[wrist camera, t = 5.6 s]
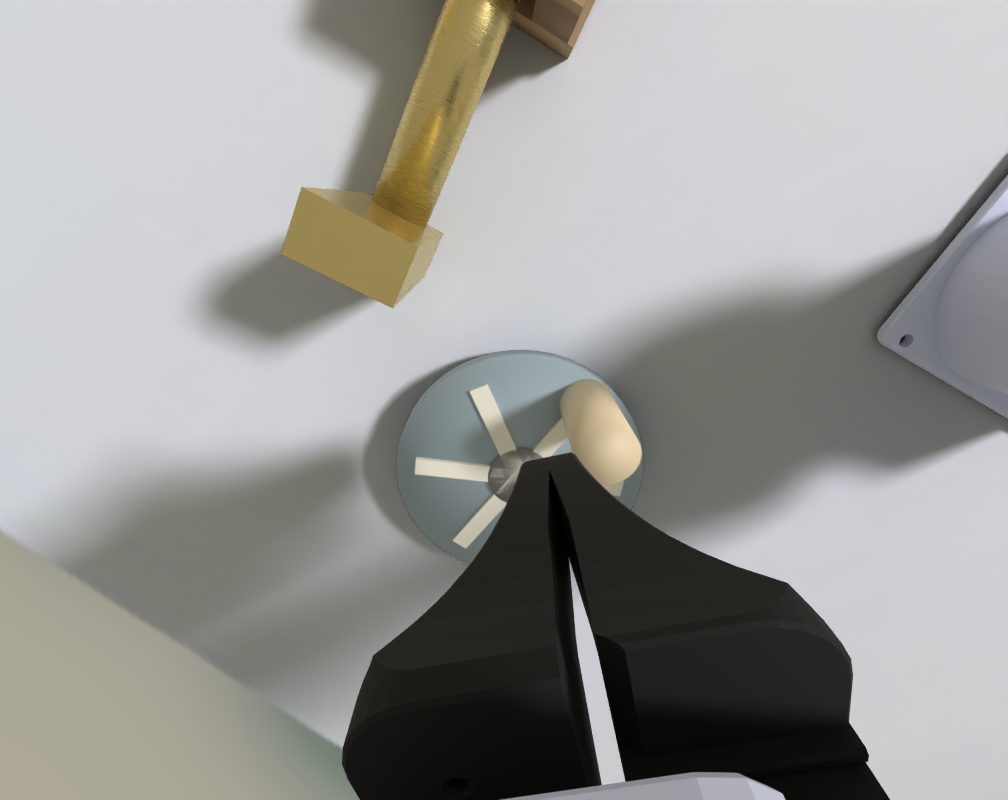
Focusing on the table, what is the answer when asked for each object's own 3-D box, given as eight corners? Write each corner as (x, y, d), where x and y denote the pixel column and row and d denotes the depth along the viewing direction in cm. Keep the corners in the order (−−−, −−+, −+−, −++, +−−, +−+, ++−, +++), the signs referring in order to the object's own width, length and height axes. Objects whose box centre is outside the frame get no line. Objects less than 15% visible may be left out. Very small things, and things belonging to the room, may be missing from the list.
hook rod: (643, -228, 12) (751, -547, 7) (424, 276, 16) (392, 308, 11) (545, -305, 11) (584, -714, 6) (348, 238, 16) (280, 254, 11)
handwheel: (535, 589, 23) (545, 687, 18) (355, 482, 20) (313, 565, 16) (686, 443, 20) (744, 516, 15) (496, 296, 17) (496, 331, 12)
